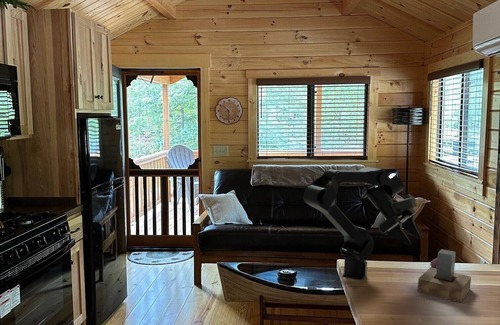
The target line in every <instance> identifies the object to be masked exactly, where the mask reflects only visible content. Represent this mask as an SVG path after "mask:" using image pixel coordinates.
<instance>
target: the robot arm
mask: <svg viewBox="0 0 500 325" xmlns="http://www.w3.org/2000/svg"><path fill="white" fill-rule="evenodd" d="M329 183H330V185H329ZM341 184H364V185H370V186H371V187H369V188H366V187H364V188H363V189H362V191H361V192H362V193H361V199H365V198H368V199H369V201H371V203H372V204H373V205H374V207H375V208H376V209H377V210H376V213H377V214H380V215H382V217H383V218H384V219H385V220H384V221H382V222H381V223H380V224H378V230H379V232H380V233H381V234H385V236H386V235H388V236H389V237H391V238H393V239H395V240H397V241H399V242H402V243H403V244H405V245H407V246H410V245H412V242H411V240H410V238H409V236H408V235H407V233H406V232H408V233H409V234H411V235H412V236H413V237H415V238H416V239H418V240H419V239H421V234H420V231H419V230H418V227H417V225H416V222H415V217H416V211H415V209H414V208H415V207H417V203H416V201H417V198H415V196H412V195H411V194H410V193H409V194H406V195H404V196H403V199H400V200H397V199H396V198H392V197H394V196H396V195H397V194H399V193H401V192H402V191H403V190H404V189H405V184H404V183H403V181H402V179H401V178H400V177H398V174H397V173H391V174H389V175H388V174H387V172H386V170H385V169H383V168H377V167H371V166H366V167H361V168H360V169H358V170H354V169H351V170H350V169H348V170H345V169H344V170H343V169H342V170H341V169H340V170H339V169H332V168H331V169H330V168H329V169H327V170H326V171H324V172H323V174H322V175H320V176H318V177H317V178H316V179H314V180H313V181H312V182H310V184H309V185H307V187H306V188H305V189H304V191H303V197H302V199H303V201H304V203H306V204H307V205H308V206H310V207H312V208H314V209H316V210H318V211H320V212H321V213H322V214H323V215H324V216H325V218H327V219H328V220H329V222H330V223H332V224H333V226H334V227H335V228H336V229H337V230H338V231H339V232H340V233H341V234H342V235H343V240H344V242H343V244H342V245H341V247H340V249H339V251H340V254H341V255H343V256H344V266H343V267H344V268H343V273H342V277H345V278H353V279H356V280H363V279H364V278H365V277H366V275H367V272H368V261H369V260H371V258H372V257H371V256H372V254H373V250H374V245H375V244H374V239H373V238H372V237H373V235H371V234H370V233H369V231H368V230H367V229H366V228H363V227H360V226H357V225H354V224H353V223H352V222H351V221H350V219H349V218H348V217H347V216H346V215H345V214H344V213H343V212H342V210H341V209H340V208H339V207H338V206H337V205H336V198H335V197H336V196H337V195H338V191H339V186H340V185H341ZM327 185H329V186H328V188H327V187H326V188H325V186H327ZM405 231H406V232H405Z"/></svg>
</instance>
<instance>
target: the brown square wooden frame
mask: <svg viewBox="0 0 500 325" xmlns="http://www.w3.org/2000/svg"><path fill="white" fill-rule="evenodd" d="M436 274H437V267H431V266H430V267H429V268H428V269H427V270H426V271H425V272H424V273H422V274H421V276H419V278H418V279H417V280H418V282H417V292H419V293H422V294H425V295H429V296H430V295H431V296H434V297H437V298H438V297H439V298H441V299H445V300H449V301H452V302H453V301H454V302H457V303H460V304H461V303H462V301H463V300H464V298H466V296H467V294H468V293H469V291H470V290H471V284H472V283H471V282H472V275H471V276H470V275H466V274H463V273H462V274H461V273H457V272H454V280H453V283H451V282H447V281H443V280H439V279H436Z"/></svg>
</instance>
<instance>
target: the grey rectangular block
mask: <svg viewBox="0 0 500 325" xmlns="http://www.w3.org/2000/svg"><path fill="white" fill-rule="evenodd" d="M456 254H457V253H456V251H453V250H449V249H448V250H447V249H443V248H442V249H440V250H439V251H438V252H437V258H438V259H437V267H436V269H437V274H436V279H439V280H443V281H447V282H451V283H453V280H454V273H455V267H456V264H455V263H456Z"/></svg>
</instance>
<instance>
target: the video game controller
mask: <svg viewBox="0 0 500 325" xmlns="http://www.w3.org/2000/svg"><path fill="white" fill-rule="evenodd" d="M437 259H438V257H436V258H434V259H432V260H431V262H430V263H429V265H430V267H431V268H437Z"/></svg>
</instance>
